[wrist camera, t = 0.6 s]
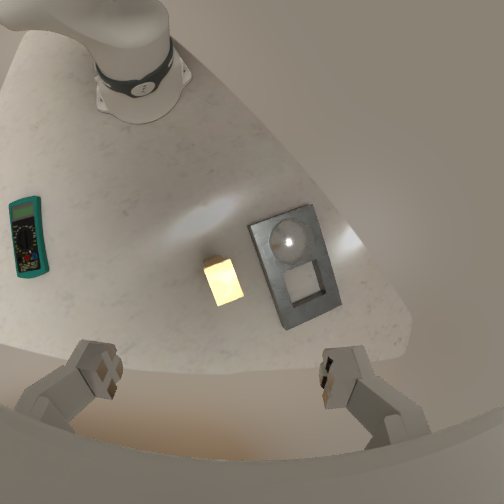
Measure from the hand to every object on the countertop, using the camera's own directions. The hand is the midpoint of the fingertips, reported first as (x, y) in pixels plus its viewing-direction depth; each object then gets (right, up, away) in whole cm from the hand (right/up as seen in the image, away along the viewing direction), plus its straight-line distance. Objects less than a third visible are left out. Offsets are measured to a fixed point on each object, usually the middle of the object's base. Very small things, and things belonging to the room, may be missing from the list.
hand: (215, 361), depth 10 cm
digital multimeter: (-41, +7, +33) cm, 53 cm away
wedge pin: (-5, +1, +41) cm, 41 cm away
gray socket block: (+9, +1, +44) cm, 45 cm away
